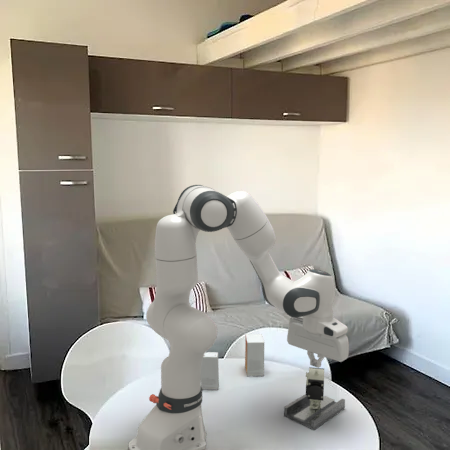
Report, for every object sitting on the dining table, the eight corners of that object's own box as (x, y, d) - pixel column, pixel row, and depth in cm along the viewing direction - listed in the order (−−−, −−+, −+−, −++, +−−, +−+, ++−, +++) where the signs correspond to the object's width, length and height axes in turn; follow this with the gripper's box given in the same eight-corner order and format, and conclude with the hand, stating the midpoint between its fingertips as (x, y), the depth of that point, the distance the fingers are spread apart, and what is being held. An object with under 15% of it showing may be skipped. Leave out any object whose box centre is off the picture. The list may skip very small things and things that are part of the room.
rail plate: (314, 430, 149) (314, 420, 148) (283, 416, 156) (284, 407, 156) (344, 408, 161) (345, 399, 160) (315, 396, 168) (315, 388, 168)
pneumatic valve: (323, 398, 164) (324, 363, 162) (322, 417, 152) (324, 380, 150) (305, 396, 165) (306, 361, 163) (303, 415, 154) (305, 378, 152)
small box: (244, 366, 190) (245, 333, 188) (261, 366, 190) (262, 333, 188) (246, 376, 182) (247, 342, 180) (264, 376, 182) (264, 342, 180)
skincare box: (218, 384, 176) (219, 351, 174) (218, 390, 172) (218, 356, 170) (201, 384, 176) (201, 351, 175) (200, 390, 172) (199, 356, 170)
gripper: (283, 316, 159) (282, 358, 161) (341, 334, 145) (338, 379, 147) (295, 312, 163) (294, 353, 165) (352, 328, 149) (350, 373, 151)
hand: (315, 365), depth 156 cm, fingers closed
